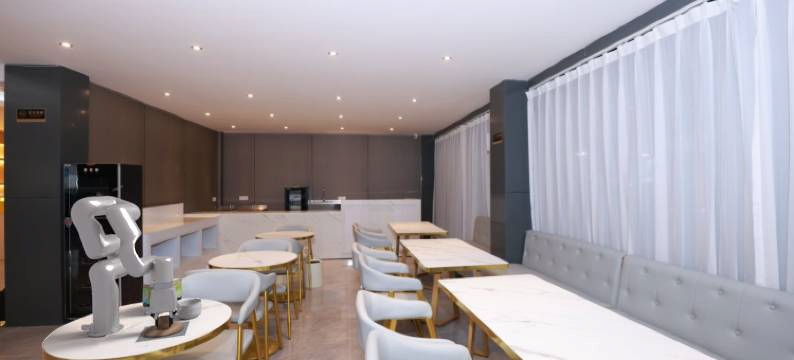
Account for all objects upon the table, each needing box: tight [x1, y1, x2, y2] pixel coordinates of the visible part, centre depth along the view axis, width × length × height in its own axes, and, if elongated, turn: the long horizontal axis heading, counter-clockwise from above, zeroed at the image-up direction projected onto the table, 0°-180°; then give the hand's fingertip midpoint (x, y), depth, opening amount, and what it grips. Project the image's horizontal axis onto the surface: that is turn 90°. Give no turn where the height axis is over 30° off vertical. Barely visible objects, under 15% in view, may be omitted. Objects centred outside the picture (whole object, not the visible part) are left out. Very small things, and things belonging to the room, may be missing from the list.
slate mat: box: [135, 320, 191, 343], centre depth 173 cm, size 18×18×1 cm
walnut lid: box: [144, 314, 184, 338], centre depth 173 cm, size 15×15×6 cm
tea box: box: [142, 277, 183, 315], centre depth 204 cm, size 15×10×15 cm, turn 162°
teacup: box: [176, 297, 203, 321], centre depth 192 cm, size 14×11×8 cm
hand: (164, 326), depth 173 cm, fingers closed on walnut lid, 4 cm apart
